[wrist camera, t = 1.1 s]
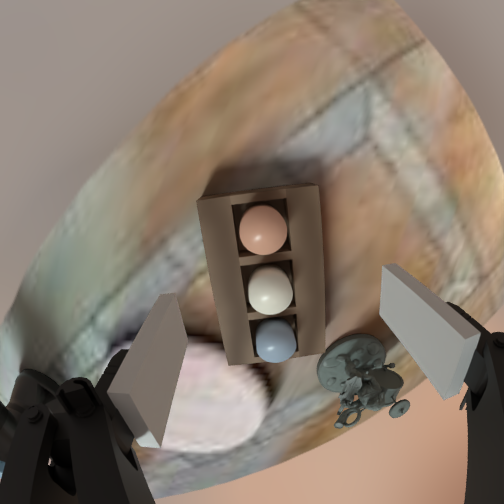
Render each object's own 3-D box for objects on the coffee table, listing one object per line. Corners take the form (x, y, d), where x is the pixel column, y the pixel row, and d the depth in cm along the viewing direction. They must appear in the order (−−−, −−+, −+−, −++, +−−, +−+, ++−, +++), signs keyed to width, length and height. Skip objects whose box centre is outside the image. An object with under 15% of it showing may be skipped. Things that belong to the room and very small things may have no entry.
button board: (229, 349, 37) (228, 365, 34) (201, 196, 31) (196, 200, 28) (319, 337, 37) (325, 352, 33) (310, 182, 31) (318, 185, 27)
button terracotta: (243, 248, 30) (242, 257, 27) (237, 206, 29) (236, 211, 26) (285, 243, 30) (289, 251, 27) (280, 201, 29) (284, 205, 26)
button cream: (251, 303, 32) (251, 317, 29) (245, 267, 31) (245, 278, 28) (289, 298, 32) (294, 311, 29) (286, 261, 31) (291, 272, 28)
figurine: (329, 331, 37) (357, 392, 25) (394, 335, 37) (432, 386, 26) (308, 387, 40) (323, 449, 28) (368, 387, 41) (394, 441, 29)
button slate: (257, 349, 34) (259, 364, 31) (253, 319, 33) (254, 333, 30) (293, 344, 34) (297, 359, 31) (291, 314, 33) (295, 328, 30)
